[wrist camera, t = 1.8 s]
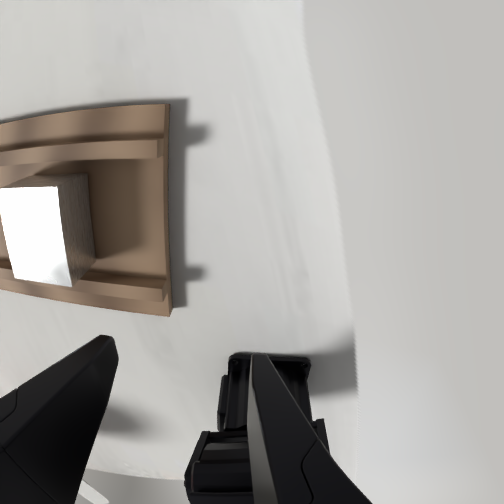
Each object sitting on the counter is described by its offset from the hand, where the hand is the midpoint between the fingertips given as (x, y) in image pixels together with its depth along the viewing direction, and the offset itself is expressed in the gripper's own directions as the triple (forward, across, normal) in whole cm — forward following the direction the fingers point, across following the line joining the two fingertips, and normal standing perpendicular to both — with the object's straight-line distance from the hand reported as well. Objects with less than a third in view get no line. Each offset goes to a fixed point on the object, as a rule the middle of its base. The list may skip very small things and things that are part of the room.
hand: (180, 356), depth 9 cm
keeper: (+11, +11, 0) cm, 15 cm away
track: (+12, +15, 0) cm, 19 cm away
